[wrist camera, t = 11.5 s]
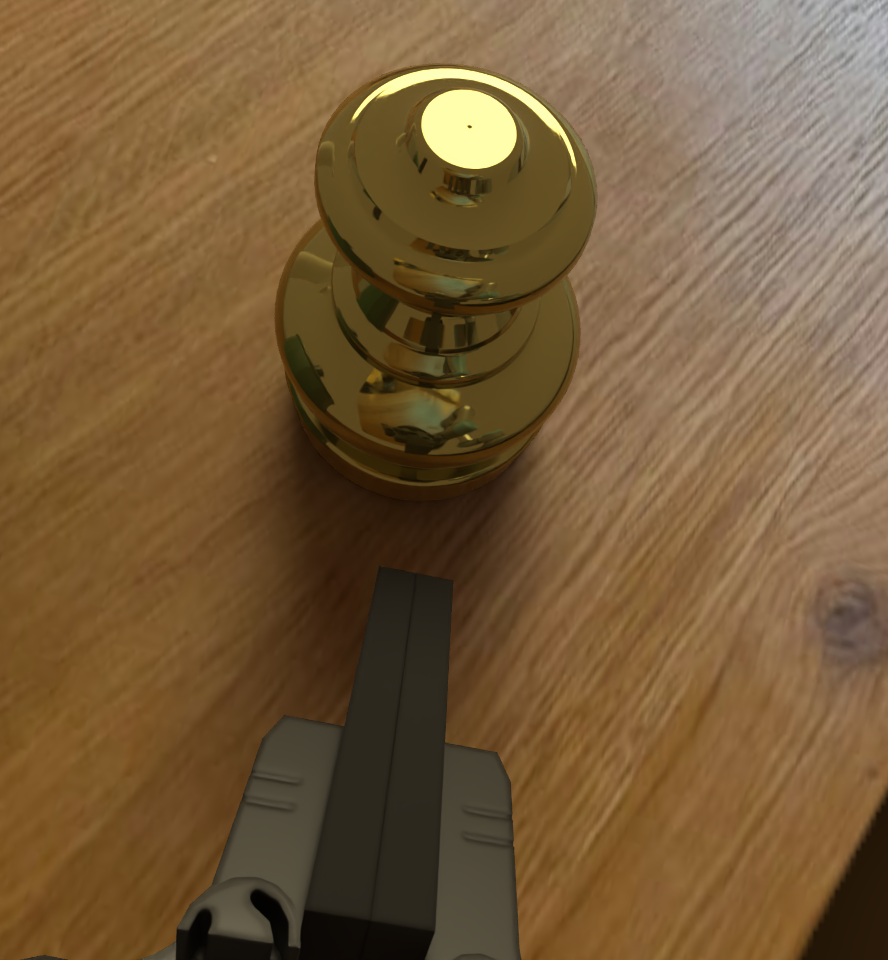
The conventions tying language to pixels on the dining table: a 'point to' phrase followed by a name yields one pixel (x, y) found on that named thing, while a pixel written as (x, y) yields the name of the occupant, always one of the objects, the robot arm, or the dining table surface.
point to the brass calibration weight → (436, 280)
